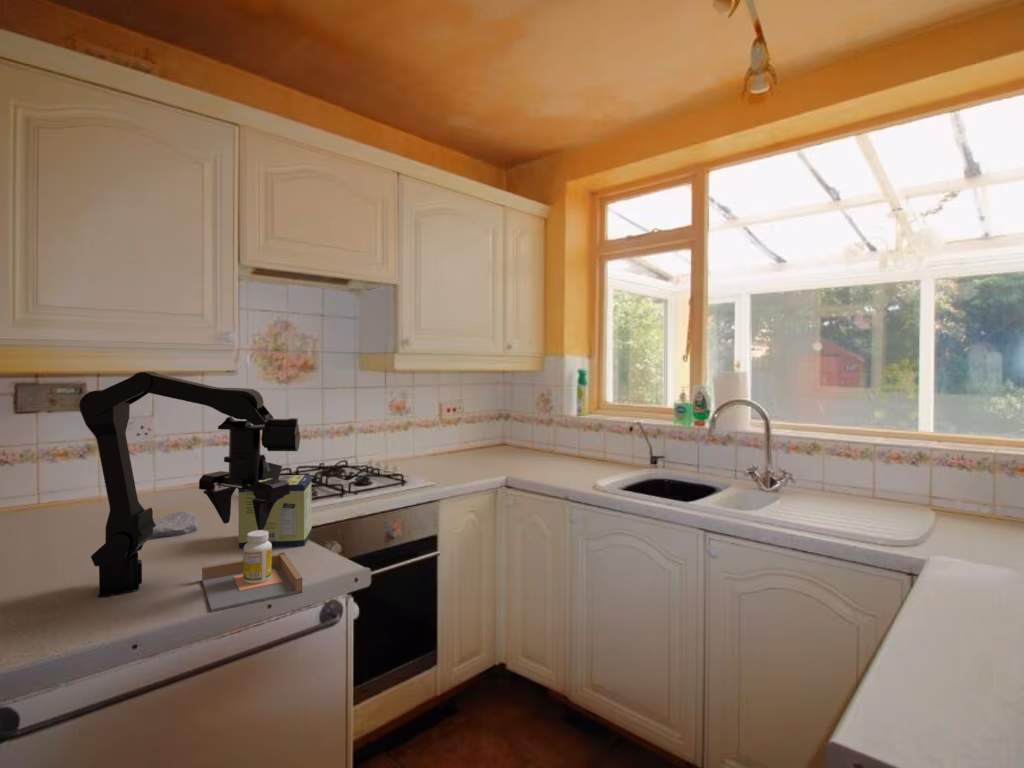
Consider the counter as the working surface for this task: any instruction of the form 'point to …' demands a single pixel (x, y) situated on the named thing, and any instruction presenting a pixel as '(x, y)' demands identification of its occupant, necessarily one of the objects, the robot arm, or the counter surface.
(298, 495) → the protein box
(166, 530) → the grey rock
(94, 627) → the counter surface
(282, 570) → the tray
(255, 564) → the supplement bottle
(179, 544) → the counter surface
